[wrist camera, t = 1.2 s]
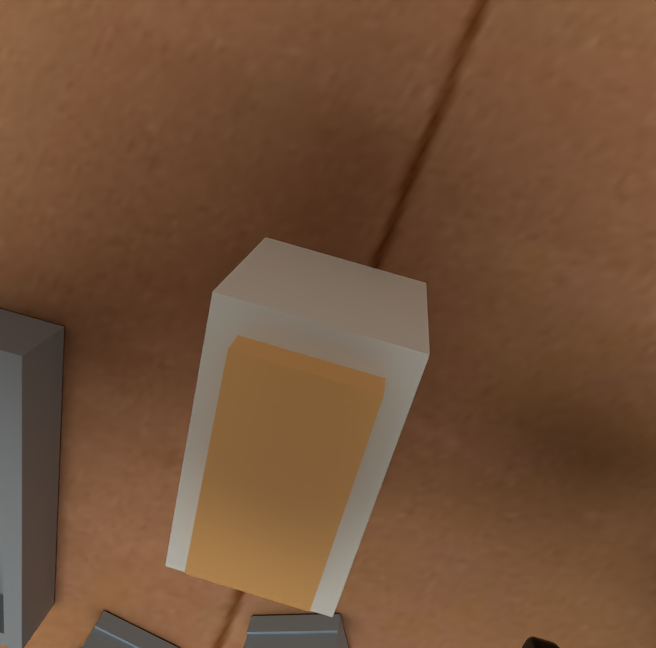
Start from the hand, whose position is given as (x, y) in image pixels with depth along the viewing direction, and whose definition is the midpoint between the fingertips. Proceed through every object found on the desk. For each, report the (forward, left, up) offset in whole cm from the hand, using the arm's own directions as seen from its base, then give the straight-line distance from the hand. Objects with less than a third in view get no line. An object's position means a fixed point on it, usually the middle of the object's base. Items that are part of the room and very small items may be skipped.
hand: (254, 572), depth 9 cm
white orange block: (0, 0, -6) cm, 6 cm away
